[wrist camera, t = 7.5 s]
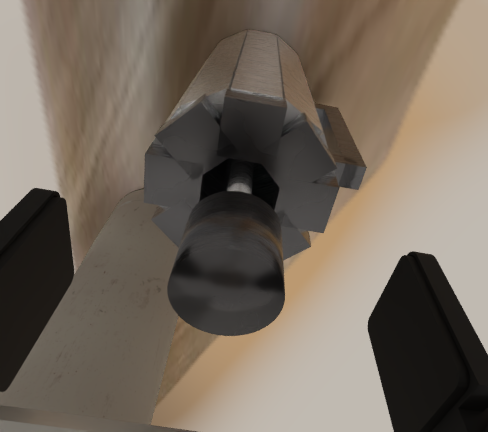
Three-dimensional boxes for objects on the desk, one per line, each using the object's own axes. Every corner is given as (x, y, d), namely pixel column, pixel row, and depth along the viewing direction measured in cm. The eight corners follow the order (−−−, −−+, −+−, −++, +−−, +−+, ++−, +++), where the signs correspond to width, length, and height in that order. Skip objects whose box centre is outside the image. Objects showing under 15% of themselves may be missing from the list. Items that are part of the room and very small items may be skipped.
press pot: (208, 21, 26) (145, 80, 13) (343, 47, 27) (419, 130, 13) (197, 126, 30) (141, 253, 17) (315, 147, 31) (350, 287, 17)
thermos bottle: (214, 244, 37) (119, 740, 13) (143, 268, 39) (-47, 732, 15) (172, 175, 33) (-67, 698, 9) (96, 206, 35) (-252, 695, 12)
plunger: (221, 58, 24) (143, 212, 9) (293, 72, 24) (332, 244, 9) (212, 128, 27) (139, 338, 12) (277, 139, 27) (289, 361, 12)
